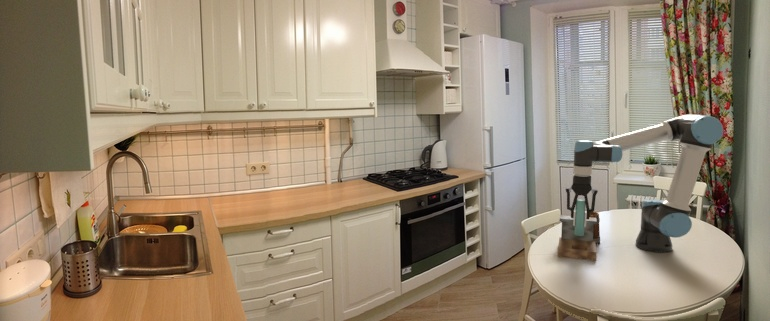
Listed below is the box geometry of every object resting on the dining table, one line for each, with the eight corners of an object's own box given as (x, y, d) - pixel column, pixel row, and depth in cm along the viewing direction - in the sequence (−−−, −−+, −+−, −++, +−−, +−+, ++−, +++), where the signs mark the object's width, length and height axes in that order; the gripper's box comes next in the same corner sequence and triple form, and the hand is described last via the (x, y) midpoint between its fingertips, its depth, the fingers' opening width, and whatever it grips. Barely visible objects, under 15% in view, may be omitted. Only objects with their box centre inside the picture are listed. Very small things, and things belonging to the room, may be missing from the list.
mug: (602, 245, 219) (604, 216, 217) (579, 245, 221) (580, 215, 219) (594, 235, 234) (595, 207, 232) (573, 235, 236) (574, 207, 234)
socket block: (594, 248, 216) (596, 217, 213) (596, 260, 200) (597, 227, 198) (559, 244, 222) (560, 215, 220) (557, 256, 206) (558, 224, 204)
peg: (583, 233, 207) (585, 199, 204) (583, 236, 203) (585, 201, 201) (574, 232, 208) (576, 199, 206) (574, 235, 204) (576, 201, 202)
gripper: (602, 174, 202) (599, 225, 205) (562, 172, 208) (559, 221, 212) (603, 177, 195) (600, 229, 198) (561, 175, 201) (559, 225, 205)
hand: (579, 225), depth 205 cm, fingers closed on peg, 4 cm apart
